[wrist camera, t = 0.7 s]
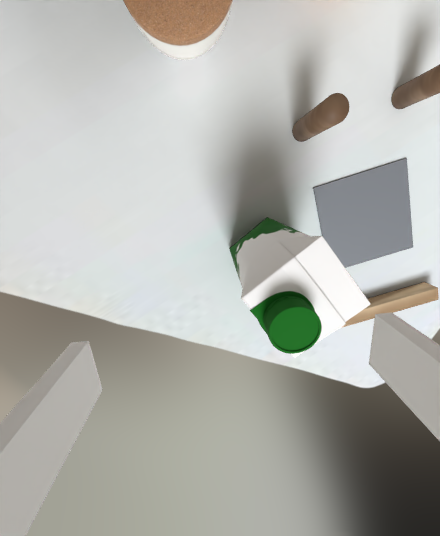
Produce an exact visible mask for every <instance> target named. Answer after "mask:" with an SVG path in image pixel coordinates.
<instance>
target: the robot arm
mask: <svg viewBox="0 0 440 536" xmlns="http://www.w3.org/2000/svg"><path fill="white" fill-rule="evenodd" d="M369 364H370V366H371V367H372V368H373V369H374V370H375V371H376V372H377V373H378V374H379V375H380V376H381V378H382V379H383V380H384V381H385V382H386V383H387V384H388V385H389V386H390V387H391V388H392V390H393V391H394V392H395V393H396V394H397V395H398V396H399V397H400V398H401V399H402V400H403V402H404V403H405V404H406V405H407V406H408V407H409V408H410V409H411V410H412V411H413V413H415V415H416V416H417V417H418V418H419V419H420V420H421V421H422V422H423V423H424V425H425V426H426V427H427V428H428V429H429V430H430V431H431V432H432V433H433V434H434V435H435V437H436V438H437V439H438V440H439V441H440V345H439V344H437V343H436V342H434V341H433V340H431V339H430V338H428V337H427V336H425V335H424V334H422V333H421V332H419V331H418V330H416V329H415V328H414V327H412V326H411V325H409V324H408V323H406V322H405V321H403V320H402V319H400V318H399V317H397V316H396V315H394V314H393V313H382V314H375V320H374V328H373V335H372V343H371V351H370V359H369ZM101 391H102V387H101V383H100V380H99V376H98V372H97V369H96V365H95V362H94V358H93V354H92V351H91V348H90V344H89V341H83V342H73V343H71V344H70V345H69V346H68V347H67V348H66V349H65V351H64V352H63V353H62V354H61V355H60V356H59V357H58V358H57V360H56V361H55V362H54V363H53V364H52V365H51V366H50V367H49V369H48V370H47V371H46V372H45V373H44V374H43V375H42V376H41V378H40V379H39V380H38V381H37V382H36V383H35V384H34V385H33V387H32V388H31V389H30V390H29V391H28V392H27V393H26V394H25V396H24V397H23V398H22V399H21V400H20V401H19V402H18V403H17V405H16V406H15V407H14V408H13V409H12V410H11V411H10V413H9V414H8V415H7V416H6V417H5V418H4V419H3V421H2V422H1V423H0V536H26V534H27V532H28V530H29V528H30V526H31V524H32V523H33V521H34V518H35V517H36V515H37V513H38V511H39V509H40V507H41V505H42V503H43V502H44V500H45V498H46V496H47V494H48V492H49V490H50V488H51V486H52V485H53V483H54V481H55V479H56V477H57V475H58V473H59V471H60V469H61V467H62V465H63V464H64V462H65V460H66V458H67V456H68V454H69V452H70V450H71V448H72V447H73V445H74V443H75V441H76V439H77V437H78V435H79V433H80V431H81V429H82V428H83V425H84V424H85V422H86V420H87V418H88V416H89V414H90V412H91V410H92V409H93V407H94V405H95V403H96V401H97V399H98V397H99V395H100V393H101Z"/></svg>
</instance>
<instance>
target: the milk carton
mask: <svg viewBox="0 0 440 536" xmlns="http://www.w3.org/2000/svg"><path fill="white" fill-rule="evenodd" d="M230 252H231V255H232V258H233V261H234V264H235V268H236V271H237V273H238V276H239V279H240V282H241V285H242V288H243V290H242V296H241V299H242V300H243V302H244V303H245V304H246V305H247V306H248V307H249V308H250V309H251V310H250V311H251V312H252V313H253V315H254V316H255V317H256V318H257V319H258V321H259V323H260V325H261V327H262V328H263V329H264V331H265V332H266V333H267V335H268V337H269V339H270V341H271V343H272V344H273V346H274V347H275V348H277V349H278V350H280V351H282V352H285V353H290V354H291V355H292V356H293V357H297V356H298V355H300V354H301V353H303V352H304V351H306V350H307V349H309V348H311V347H312V346H313V345H315V344H316V343H318V342H319V341H321V340H322V339H323V338H325V337H326V336H328V335H329V334H331V333H332V332H334V331H336V330H338V329H340V328H341V327H342V326H344V325H345V324H346V323H345V322H346V321H347V320H349V319H350V318H352V317H353V316H355V315H356V314H358V313H359V312H360V311H362V310H363V309H365V308H366V307H368V306H369V305H370V302H369V301H368V299H367V298H366V297H365V295H364V294H363V292H362V291H361V290H360V288H359V287H358V285H357V284H356V283H355V281H354V280H353V278H352V277H351V276H350V274H349V273H348V271H347V270H346V269H345V267H344V266H343V264H342V263H341V262H340V260H339V259H338V257H337V256H336V255H335V253H334V252H333V250H332V249H331V248H330V246H329V245H328V243H327V242H326V241H325V239H324V238H323V236H312V237H311V236H308V235H306V234H304V233H302V232H299V231H297V230H295V229H293V228H291V227H288V226H286V225H284V224H282V223H279V222H277V221H275V220H272V219H270V218H268V217H267V218H266V219H265V220H263V221H262V222H261V223H260V224H259V225H257V226H256V227H255V228H254V229H253V230H251V231H250V232H249V233H248V234H247V235H245V236H244V237H243V238H242V239H240V240H239V241H238V242H237V243H236V244H234V245H233V246H232V247H231V248H230Z"/></svg>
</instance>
